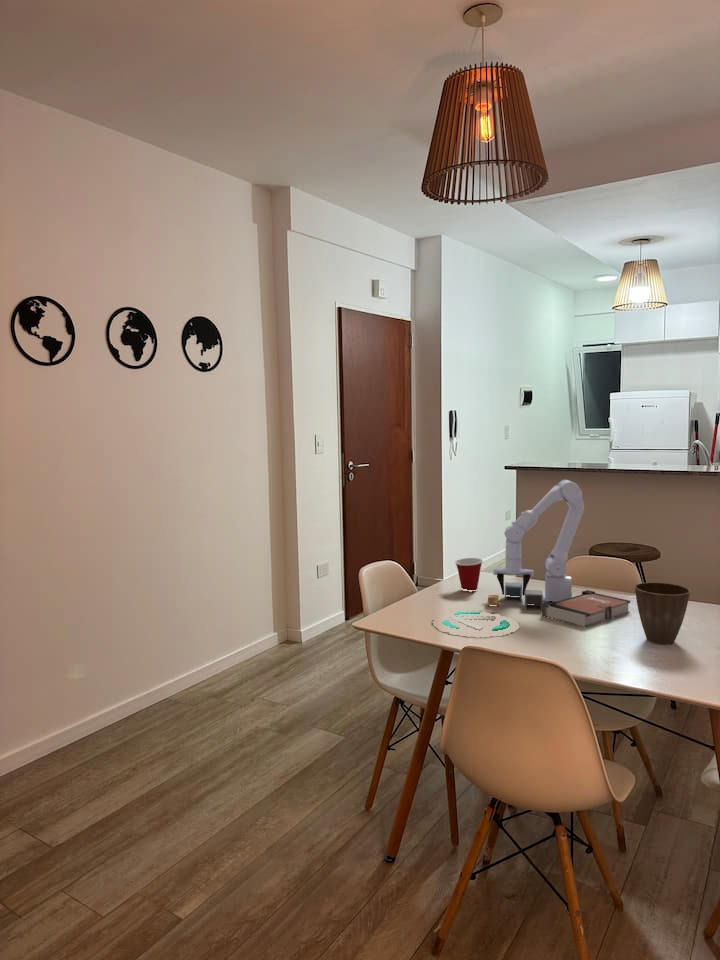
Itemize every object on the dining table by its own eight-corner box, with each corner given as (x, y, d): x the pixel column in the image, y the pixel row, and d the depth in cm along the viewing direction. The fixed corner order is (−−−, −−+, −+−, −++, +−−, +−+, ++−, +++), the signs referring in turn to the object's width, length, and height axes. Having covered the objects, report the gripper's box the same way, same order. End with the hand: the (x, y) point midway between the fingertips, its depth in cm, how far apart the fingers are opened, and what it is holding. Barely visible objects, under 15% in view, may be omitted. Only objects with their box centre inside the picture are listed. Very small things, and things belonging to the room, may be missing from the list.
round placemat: (452, 609, 240) (452, 605, 240) (530, 620, 226) (530, 615, 226) (417, 631, 216) (417, 626, 216) (502, 644, 202) (502, 639, 202)
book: (587, 629, 215) (587, 614, 214) (541, 617, 228) (541, 603, 228) (632, 614, 231) (632, 599, 230) (587, 603, 244) (587, 590, 244)
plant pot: (642, 629, 212) (643, 579, 211) (694, 639, 203) (695, 586, 201) (626, 642, 201) (627, 589, 199) (680, 652, 191) (682, 597, 190)
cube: (498, 604, 243) (498, 595, 243) (497, 607, 240) (497, 597, 240) (488, 604, 244) (488, 594, 244) (487, 606, 241) (487, 597, 240)
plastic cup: (451, 587, 268) (450, 558, 267) (477, 586, 270) (476, 556, 269) (459, 594, 257) (459, 563, 256) (486, 593, 259) (486, 562, 258)
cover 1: (521, 597, 252) (521, 582, 252) (521, 601, 247) (521, 586, 246) (505, 596, 254) (505, 582, 253) (504, 600, 248) (505, 586, 247)
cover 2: (542, 605, 241) (542, 590, 241) (542, 610, 235) (542, 594, 235) (524, 604, 242) (524, 589, 242) (524, 609, 237) (525, 594, 236)
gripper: (493, 559, 247) (493, 596, 248) (534, 561, 243) (533, 597, 244) (493, 555, 253) (493, 591, 255) (533, 557, 250) (533, 593, 251)
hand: (513, 594), depth 250 cm, fingers open, 7 cm apart
